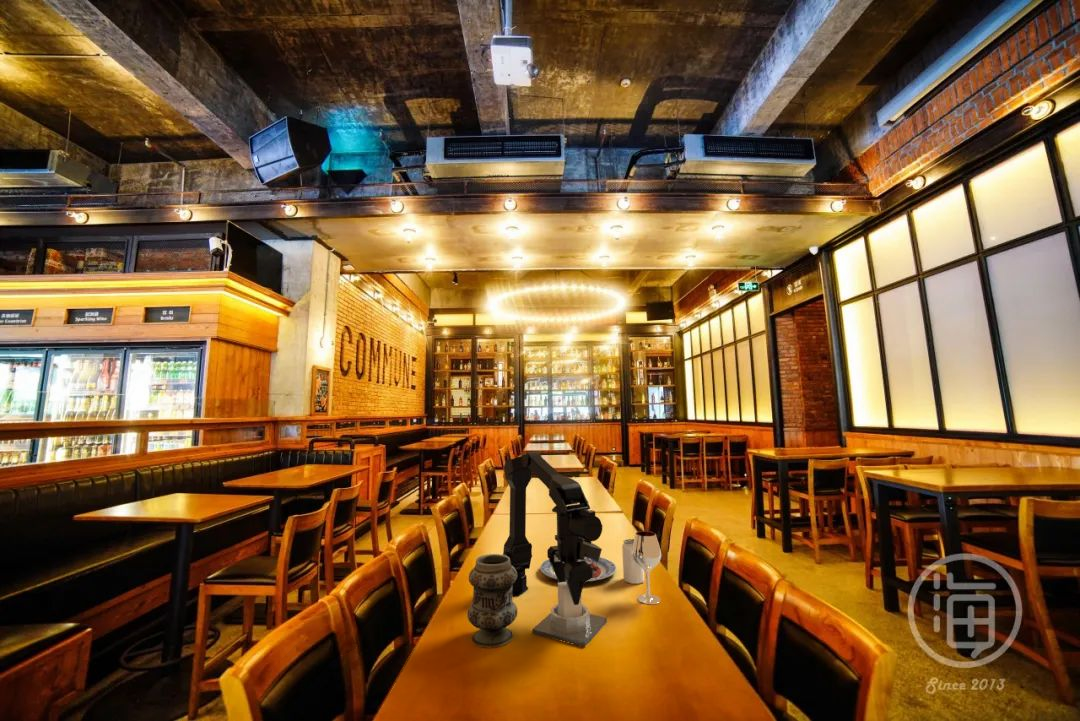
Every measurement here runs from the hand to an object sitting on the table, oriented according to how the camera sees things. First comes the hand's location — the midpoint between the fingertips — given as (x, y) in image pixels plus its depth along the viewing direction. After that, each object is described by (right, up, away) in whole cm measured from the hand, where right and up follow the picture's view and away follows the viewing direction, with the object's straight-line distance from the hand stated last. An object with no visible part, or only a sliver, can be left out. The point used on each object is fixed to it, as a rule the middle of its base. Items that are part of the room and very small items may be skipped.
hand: (569, 597), depth 108 cm
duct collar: (0, -7, -1) cm, 7 cm away
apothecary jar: (-19, -7, -5) cm, 21 cm away
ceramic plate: (+5, -13, +37) cm, 39 cm away
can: (+23, -11, +29) cm, 38 cm away
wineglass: (+24, -9, +14) cm, 29 cm away
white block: (0, -6, -1) cm, 6 cm away
